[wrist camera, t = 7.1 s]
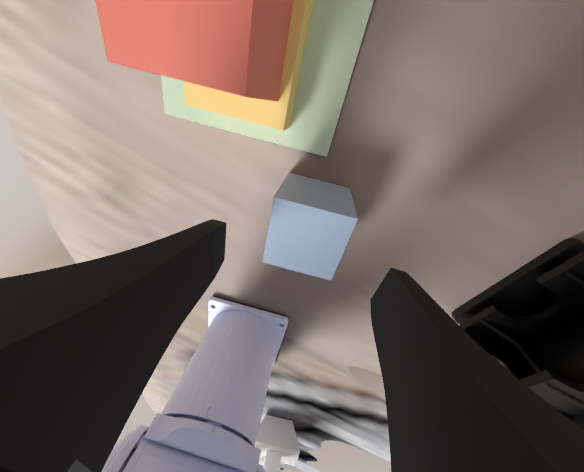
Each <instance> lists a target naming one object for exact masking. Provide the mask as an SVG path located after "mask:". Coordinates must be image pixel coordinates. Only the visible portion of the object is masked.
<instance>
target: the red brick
mask: <svg viewBox="0 0 584 472" xmlns="http://www.w3.org/2000/svg"><path fill="white" fill-rule="evenodd" d="M293 1H294V0H96V5H97V10H98V15H99V20H100V25H101V30H102V35H103V40H104V45H105V50H106V55H107V60H108V62H112V63H116V64H120V65H124V66H128V67H131V68H135V69H139V70H143V71H147V72H151V73H155V74H159V75H162V76H166V77H170V78H174V79H178V80H182V81H186V82H190V83H193V84H197V85H201V86H205V87H209V88H213V89H217V90H221V91H224V92H228V93H232V94H236V95H240V96H244V97H250V98H256V99H263V100H270V101H277V102H278V99H279V93H280V86H281V80H282V73H283V66H284V60H285V53H286V47H287V40H288V34H289V27H290V20H291V14H292V7H293Z"/></svg>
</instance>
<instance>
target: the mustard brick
mask: <svg viewBox="0 0 584 472" xmlns="http://www.w3.org/2000/svg"><path fill="white" fill-rule="evenodd" d="M313 4H314V0H294V1H293V7H292V14H291V20H290V27H289V34H288V40H287V47H286V53H285V60H284V66H283V73H282V80H281V86H280V93H279V99H278V102H277V101H270V100H263V99H256V98H250V97H244V96H240V95H236V94H232V93H228V92H224V91H221V90H217V89H213V88H209V87H205V86H201V85H197V84H193V83H190V82H186V81H183V82H184V103H185V105H188V106H192V107H196V108H200V109H203V110H207V111H211V112H214V113H218V114H222V115H226V116H229V117H233V118H237V119H241V120H244V121H248V122H252V123H256V124H259V125H263V126H267V127H271V128H274V129H278V130H282V131H284V130H286V129H288V128H290V123H291V118H292V113H293V108H294V103H295V97H296V92H297V87H298V82H299V77H300V72H301V66H302V61H303V56H304V51H305V46H306V41H307V35H308V30H309V25H310V20H311V15H312V10H313Z"/></svg>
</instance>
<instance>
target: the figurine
mask: <svg viewBox="0 0 584 472" xmlns="http://www.w3.org/2000/svg"><path fill="white" fill-rule="evenodd" d="M255 447H257V448H259V449H261V453H260V458H264V459H265V460H264V465H263V468H264V470H265V472H280V465H281V463H285V464H289V465H294V466H296V463H297V459H298V456H299V452H300V451H299V447H298V442H297V438H296V434H295V429H294V425H293V421H291V420H287V419H282V418H278V417H273V416H268V415H266V416H265V417H264V419H263V420H262V422H261V423H260V425H259V429H258V434H257V438H256V443H255Z"/></svg>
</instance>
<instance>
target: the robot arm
mask: <svg viewBox="0 0 584 472" xmlns="http://www.w3.org/2000/svg"><path fill="white" fill-rule="evenodd" d="M225 238H226V223H225V222H221V221H217V220H214V219H212V220H209V221H206V222H203V223H201V224H198V225H196V226H193V227H191V228H188V229H186V230H183V231H181V232H178V233H176V234H173V235H171V236H168V237H165V238H162V239H160V240H157V241H154V242H151V243H148V244H145V245H142V246H139V247H137V248H133V249H130V250H127V251H124V252H120V253H117V254H113V255H109V256H106V257H102V258H98V259H94V260H90V261H86V262H82V263H77V264H73V265H68V266H64V267H59V268H54V269H50V270H46V271H40V272H35V273H30V274H24V275H19V276H13V277H7V278H1V279H0V472H265V470H264V468H263V467H262V466H261V465H259V464H258V463H259V458H260V453H261V449H259V448H257V447H255V443H256V438H257V434H258V429H259V424H260V420H261V415H262V411H263V406H264V402H265V397H266V393H267V388H268V383H269V379H270V374H271V370H272V367H273V365H274V363H275V360H276V357H277V354H278V351H279V348H280V345H281V342H282V339H283V337H284V334H285V331H286V328H287V325H288V318H287V317H285V316H281V315H278V314H274V313H270V312H267V311H263V310H259V309H256V308H252V307H249V306H245V305H241V304H238V303H234V302H231V301H227V300H223V299H220V298H216V297H211V298H210V299H209V302H208V330H207V331H206V333H205V335H204V337H203V339H202V341H201V342H200V344H199V346H198V348H197V350H196V351H195V353H194V355H193V357H192V359H191V361H190V362H189V364H188V366H187V368H186V370H185V371H184V373H183V375H182V377H181V379H180V381H179V382H178V384H177V386H176V388H175V390H174V391H173V393H172V395H171V397H170V399H169V401H168V402H167V404H166V406H165V408H164V410H163V411H162V413H161V414H159V413H158V414H156V416H155V418H154V420H153V421H152V423H151V425H150V427H148V426H144V425H140V426H138V427H137V428H136V429H135V430H133V431H131V432H129V433H128V434H126V435H125V436H124V437H123V438H122V439H121V440H120V441H119V442H118V444H117V445H116V446H115V447H114V445H115V443H116V442H117V440H118V437H119V436H120V434H121V431H122V430H123V428H124V426H125V423H126V422H127V420H128V418H129V416H130V414H131V412H132V410H133V409H134V407H135V405H136V403H137V401H138V399H139V397H140V395H141V394H142V392H143V390H144V388H145V386H146V384H147V382H148V381H149V379H150V377H151V375H152V374H153V372H154V370H155V368H156V366H157V365H158V363H159V361H160V359H161V357H162V356H163V354H164V352H165V351H166V349H167V347H168V346H169V344H170V342H171V340H172V339H173V337H174V335H175V334H176V332H177V331H178V329H179V327H180V326H181V324H182V323H183V322H184V320H185V319H186V317H187V316H188V315H189V313H190V312H191V310H192V309H193V308H194V306H195V305H196V303H197V302H198V301H199V299H200V298H201V297H202V295H203V294H204V292H205V291H206V289H207V288H208V287H209V285H210V284H211V282H212V281H213V280H214V278H215V276H216V274H217V273H218V271H219V269H220V267H221V265H222V263H223V261H224V255H225ZM371 318H372V326H373V332H374V337H375V342H376V347H377V352H378V357H379V362H380V367H381V372H382V377H383V383H384V389H385V396H386V407H387V416H388V427H389V440H390V453H391V471H392V472H584V430H583V429H581V428H580V427H579V426H577V425H576V424H575V423H573V422H572V421H571V420H569V419H568V418H567V417H566V416H564V415H563V414H562V413H560V412H559V411H558V410H557V409H555V408H554V407H553V406H551V405H550V404H549V403H548V402H546V401H545V400H544V399H543V398H541V397H540V396H539V395H537V394H536V393H535V392H534V391H532V390H531V389H530V388H529V387H527V386H526V385H525V384H524V383H523V382H521V381H520V380H519V379H518V378H516V377H515V376H514V375H513V374H512V373H511V372H510V371H508V370H507V369H506V368H505V367H504V366H503V365H501V364H500V363H499V362H498V361H497V360H496V359H494V358H493V357H492V356H491V355H490V354H489V353H488V352H486V351H485V350H484V349H483V348H482V347H481V346H480V345H479V344H478V343H477V342H476V341H475V340H474V339H472V338H471V337H470V336H469V335H468V334H467V333H466V332H465V331H464V330H463V329H462V328H461V327H460V326H459V325H458V324H457V323H456V322H455V321H454V320H453V319H452V318H451V317H450V316H449V315H448V314H447V313H446V312H445V311H444V310H443V309H442V308H441V307H440V306H439V305H438V304H437V303H436V302H435V301H434V300H433V299H432V298H431V297H430V296H429V295H428V294H427V293H426V292H425V291H424V289H423V288H422V287H421V286H420V285H419V284H418V283H417V282H416V281H415V280H414V279H413V278H411V277H410V276H409V275H408V274H407V273H406V272H404V271H400V270H397V269H393V268H391V269H390V270H389V272H388V273H387V275H386V276H385V278H384V280H383V281H382V283H381V284H380V286H379V287H378V289H377V291H376V292H375V294H374V295H373V297H372V298H371ZM113 447H114V449H113ZM112 449H113V450H112Z"/></svg>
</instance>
